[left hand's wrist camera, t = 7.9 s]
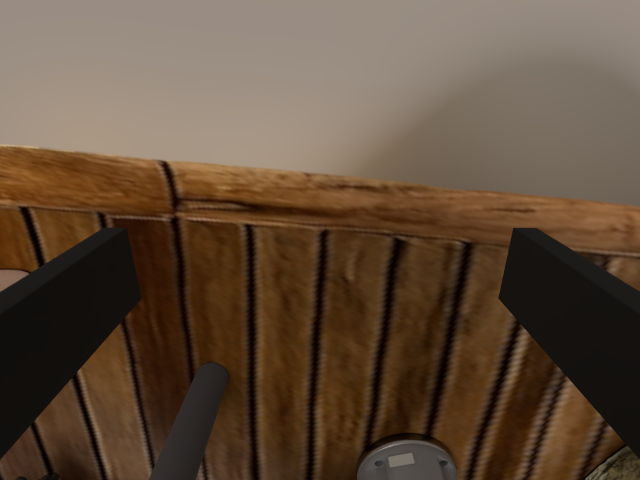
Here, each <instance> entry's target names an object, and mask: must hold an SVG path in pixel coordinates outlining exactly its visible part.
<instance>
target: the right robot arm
mask: <svg viewBox="0 0 640 480" xmlns="http://www.w3.org/2000/svg"><path fill="white" fill-rule="evenodd" d="M59 477H60V475H58V474H57V473H54V474H53V475H49V474H48V475H45V476H44V477H42V478H41V479H39V480H58V478H59ZM15 480H27V479H26V478H25V477H22V476H20V477H18V478H17V479H15Z"/></svg>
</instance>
